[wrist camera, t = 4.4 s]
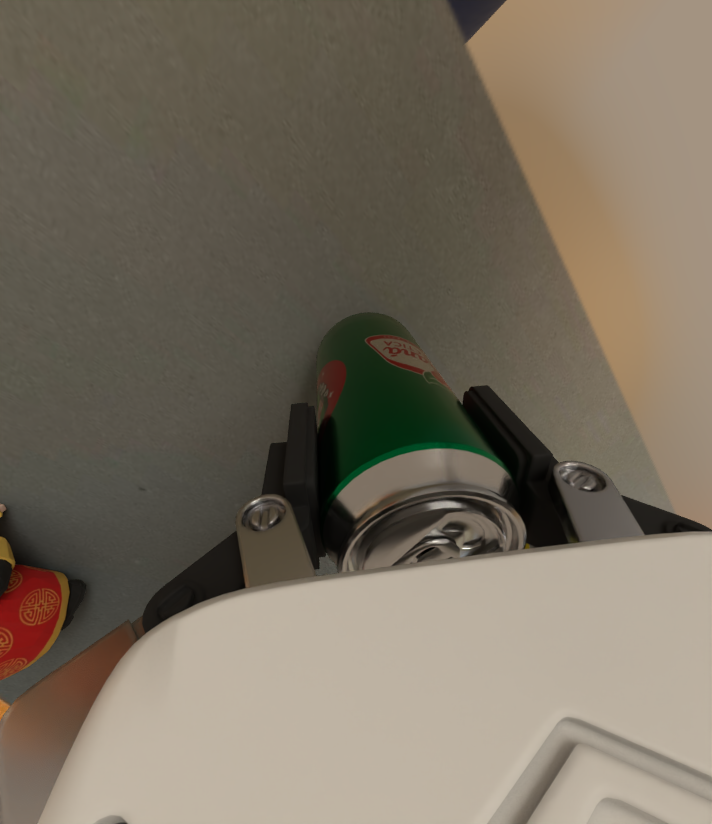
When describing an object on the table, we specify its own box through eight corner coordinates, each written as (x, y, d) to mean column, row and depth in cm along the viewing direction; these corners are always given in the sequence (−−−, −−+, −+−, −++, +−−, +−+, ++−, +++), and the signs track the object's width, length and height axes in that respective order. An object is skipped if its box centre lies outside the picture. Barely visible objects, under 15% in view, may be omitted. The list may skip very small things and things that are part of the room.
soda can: (433, 356, 18) (582, 549, 8) (364, 417, 20) (417, 645, 10) (367, 286, 16) (459, 430, 6) (295, 360, 18) (271, 577, 8)
